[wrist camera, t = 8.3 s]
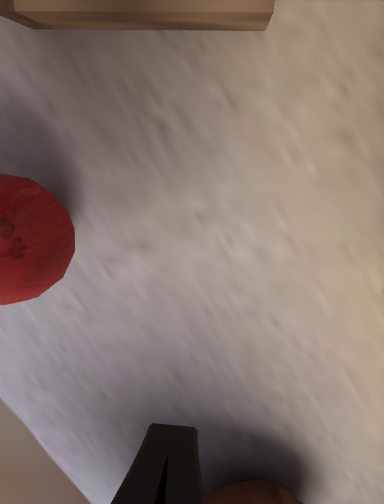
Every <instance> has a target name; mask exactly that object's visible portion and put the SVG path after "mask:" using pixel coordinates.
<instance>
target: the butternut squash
mask: <svg viewBox="0 0 384 504" xmlns="http://www.w3.org/2000/svg"><path fill="white" fill-rule="evenodd" d="M204 497H205V502H206V504H303V503H302V502H300V501H299V500H298V499H297V498H296V497H294V496H293V495H292V494H290V493H289V492H288V491H286V490H285V489H284V488H282V487H281V486H278V485H276V484H274V483H270V482H266V481H261V480H256V479H255V480H249V481H245V482H240V483H236V484H231V485H227V486H223V487H221V488H218V489H216V490H214V491H212V492H210V493H207V494H205V495H204Z"/></svg>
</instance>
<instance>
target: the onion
mask: <svg viewBox="0 0 384 504" xmlns="http://www.w3.org/2000/svg"><path fill="white" fill-rule="evenodd" d="M74 252H75V231H74V226H73V223H72V221H71V218H70V215H69V212H68V211H67V209H66V208H65V207H64V205H63V204H62V203H61V202H60V200H59V199H58V198H57V197H56V195H54V194H53V193H51V192H50V191H48V190H47V189H45V188H44V187H42V186H40V185H39V184H37V183H36V182H34V181H32V180H30V179H29V178H23V177H17V176H10V175H4V174H2V175H0V305H7V304H12V303H16V302H21V301H26V300H29V299H32V298H36V297H38V296H39V295H41V294H42V293H43V292H45V291H46V290H47V289H49V288H50V287H51V286H53V285H54V284H55V283H56V282H58V281H59V280H60V279H62V278H63V276H64V274H65V272H66V270H67V268H68V265H69V263H70V261H71V259H72V257H73V254H74Z"/></svg>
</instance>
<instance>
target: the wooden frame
mask: <svg viewBox="0 0 384 504" xmlns="http://www.w3.org/2000/svg"><path fill="white" fill-rule="evenodd" d="M274 1H275V0H0V15H1V16H3V17H5V18H8V19H10V20H13V21H15V22H17V23H20V24H22V25H25V26H27V27H30V28H32V29H119V30H238V31H265V30H266V28H267V25H268V23H269V21H270V19H271V16H272V14H273V11H274Z"/></svg>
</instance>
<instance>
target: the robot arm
mask: <svg viewBox="0 0 384 504" xmlns="http://www.w3.org/2000/svg"><path fill="white" fill-rule="evenodd" d="M197 432H198V431H197V430H196V429H195V428H194V427H186V426H176V425H165V424H155V423H153V424H151V425H150V426H149V428H148V431H147V433H146V436H145V438H144V440H143V443H142V445H141V447H140V449H139V451H138V454H137V456H136V458H135V460H134V462H133V464H132V466H131V468H130V470H129V471H128V473H127V475H126V477H125V479H124V481H123V482H122V484H121V486H120V488H119V490H118V491H117V493H116V495H115V497H114V499H113V500H112V502H111V504H206V502H205V497H204V492H203V486H202V481H201V474H200V467H199V458H198V445H197Z"/></svg>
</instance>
